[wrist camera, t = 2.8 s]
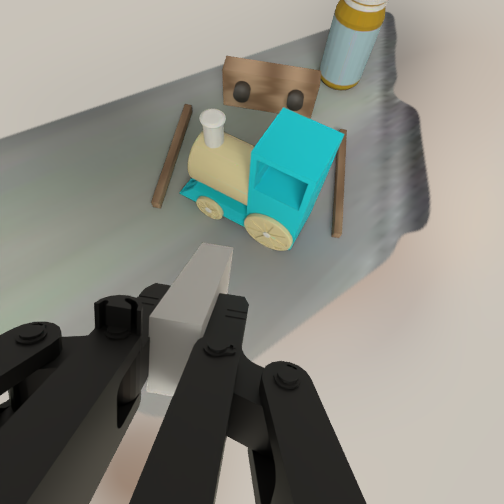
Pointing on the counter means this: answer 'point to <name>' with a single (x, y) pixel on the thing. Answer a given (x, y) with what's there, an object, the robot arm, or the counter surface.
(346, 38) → the bottle
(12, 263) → the counter surface
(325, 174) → the toy train
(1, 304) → the counter surface
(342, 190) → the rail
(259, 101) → the buffer stop
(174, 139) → the bar
